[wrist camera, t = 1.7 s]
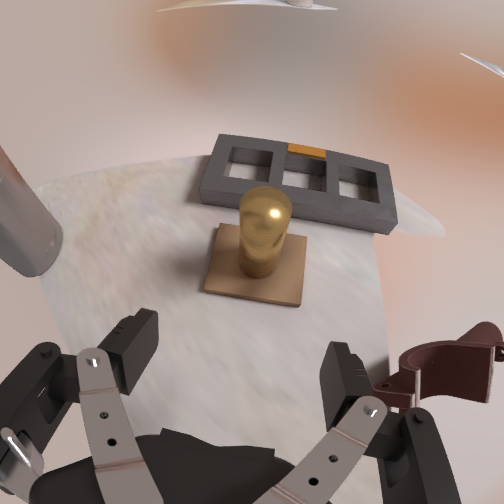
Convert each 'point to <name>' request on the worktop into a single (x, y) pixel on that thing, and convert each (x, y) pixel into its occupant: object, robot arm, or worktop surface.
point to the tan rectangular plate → (242, 286)
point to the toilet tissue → (301, 3)
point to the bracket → (445, 369)
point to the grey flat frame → (303, 200)
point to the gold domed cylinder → (262, 230)
